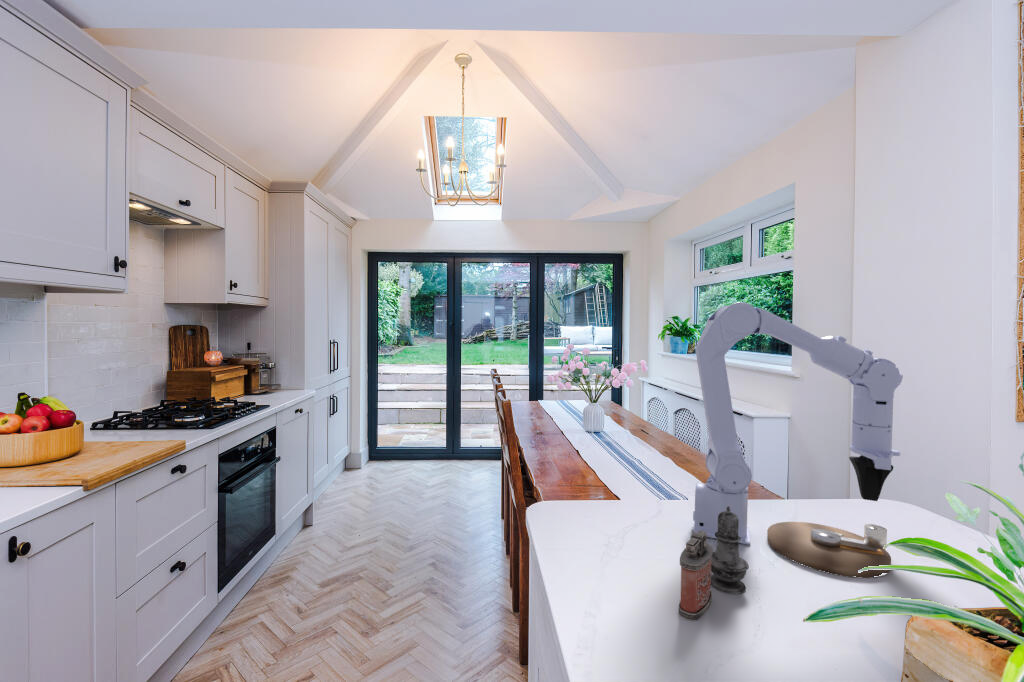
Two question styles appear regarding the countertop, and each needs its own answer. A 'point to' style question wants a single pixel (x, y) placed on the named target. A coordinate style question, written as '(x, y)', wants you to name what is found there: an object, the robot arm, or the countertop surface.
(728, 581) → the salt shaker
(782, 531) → the dial plate
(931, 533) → the countertop surface
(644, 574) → the countertop surface
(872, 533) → the silver dumbbell
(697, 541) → the lighter
